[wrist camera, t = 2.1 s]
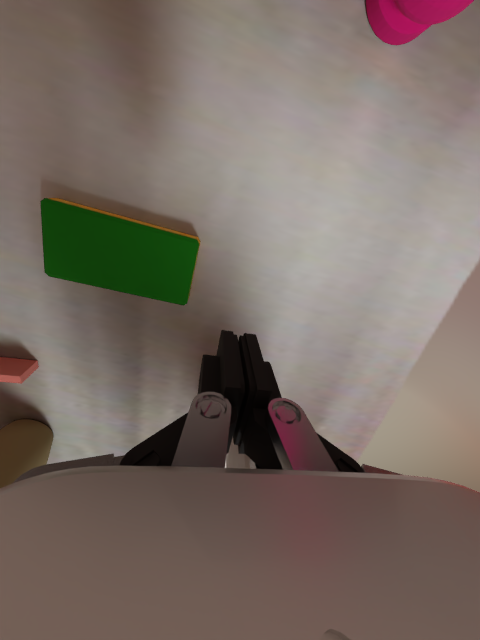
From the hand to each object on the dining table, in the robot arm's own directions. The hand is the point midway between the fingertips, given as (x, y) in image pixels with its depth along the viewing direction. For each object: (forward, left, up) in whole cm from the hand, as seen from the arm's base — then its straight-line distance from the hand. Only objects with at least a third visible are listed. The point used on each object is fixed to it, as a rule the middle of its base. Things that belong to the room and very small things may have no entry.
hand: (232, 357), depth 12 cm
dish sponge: (0, +10, -18) cm, 20 cm away
